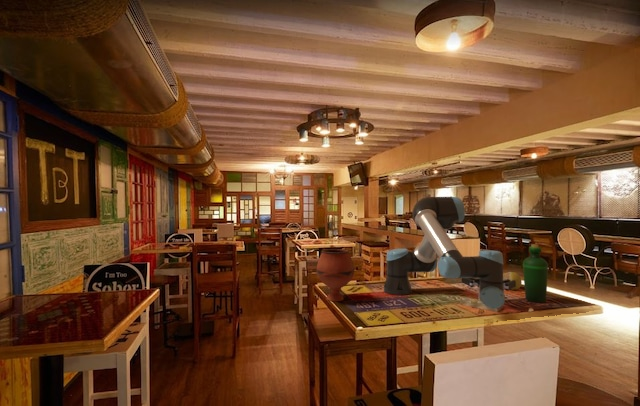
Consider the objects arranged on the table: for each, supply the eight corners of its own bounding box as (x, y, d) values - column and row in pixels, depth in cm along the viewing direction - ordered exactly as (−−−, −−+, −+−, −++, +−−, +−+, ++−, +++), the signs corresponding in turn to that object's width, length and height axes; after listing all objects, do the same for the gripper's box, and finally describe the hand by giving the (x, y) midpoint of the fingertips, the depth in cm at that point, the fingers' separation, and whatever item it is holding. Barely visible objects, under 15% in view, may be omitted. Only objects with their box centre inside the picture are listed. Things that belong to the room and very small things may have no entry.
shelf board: (460, 304, 151) (460, 297, 151) (467, 300, 157) (467, 293, 157) (496, 312, 139) (496, 304, 139) (503, 307, 146) (503, 300, 146)
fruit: (512, 286, 185) (511, 269, 185) (526, 291, 174) (526, 273, 174) (496, 287, 183) (496, 270, 184) (509, 292, 173) (509, 274, 173)
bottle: (546, 299, 159) (545, 244, 160) (551, 304, 150) (550, 246, 150) (521, 296, 164) (520, 243, 164) (524, 302, 154) (524, 245, 155)
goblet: (362, 300, 157) (361, 251, 157) (329, 307, 147) (329, 253, 148) (340, 292, 173) (340, 247, 174) (310, 297, 164) (309, 249, 164)
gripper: (454, 294, 126) (456, 283, 145) (528, 302, 115) (519, 289, 134) (454, 276, 126) (456, 267, 145) (528, 282, 115) (519, 271, 135)
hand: (486, 277), depth 140 cm, fingers open, 13 cm apart
